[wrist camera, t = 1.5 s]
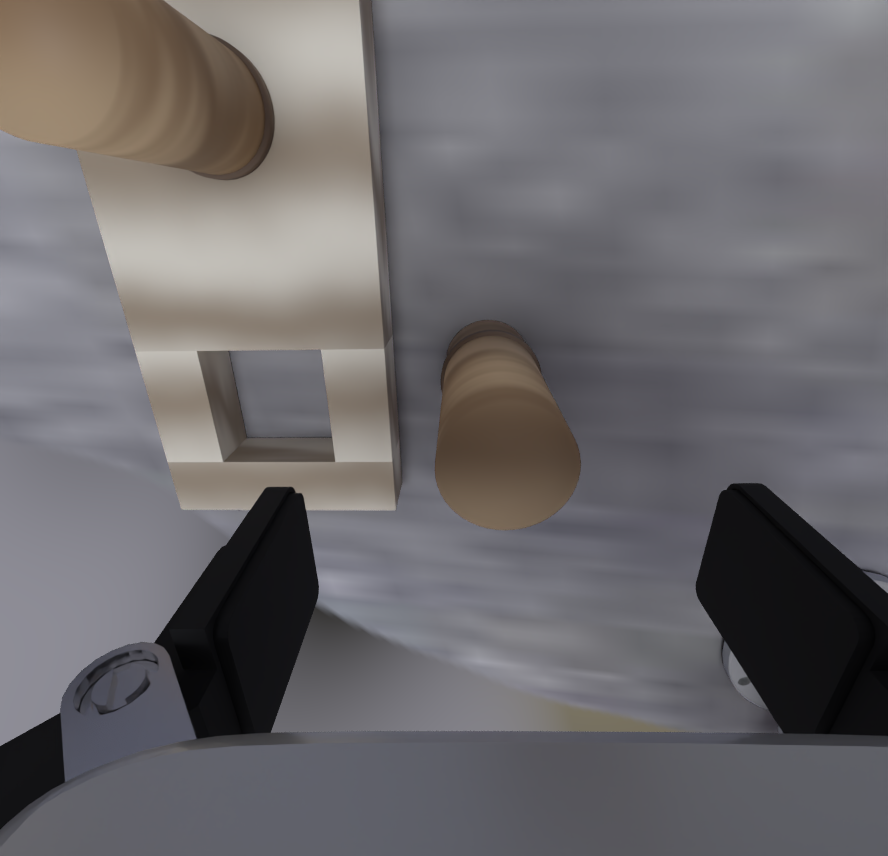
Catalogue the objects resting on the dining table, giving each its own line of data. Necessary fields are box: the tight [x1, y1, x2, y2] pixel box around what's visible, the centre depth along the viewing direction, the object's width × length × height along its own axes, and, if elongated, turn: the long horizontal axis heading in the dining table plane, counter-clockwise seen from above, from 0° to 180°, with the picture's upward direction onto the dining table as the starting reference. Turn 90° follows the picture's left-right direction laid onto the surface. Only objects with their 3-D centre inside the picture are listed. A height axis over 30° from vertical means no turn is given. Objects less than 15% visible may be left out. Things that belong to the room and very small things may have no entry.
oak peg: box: [435, 320, 581, 530], centre depth 20 cm, size 5×5×12 cm
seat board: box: [0, 0, 402, 510], centre depth 18 cm, size 24×12×12 cm, turn 1°
